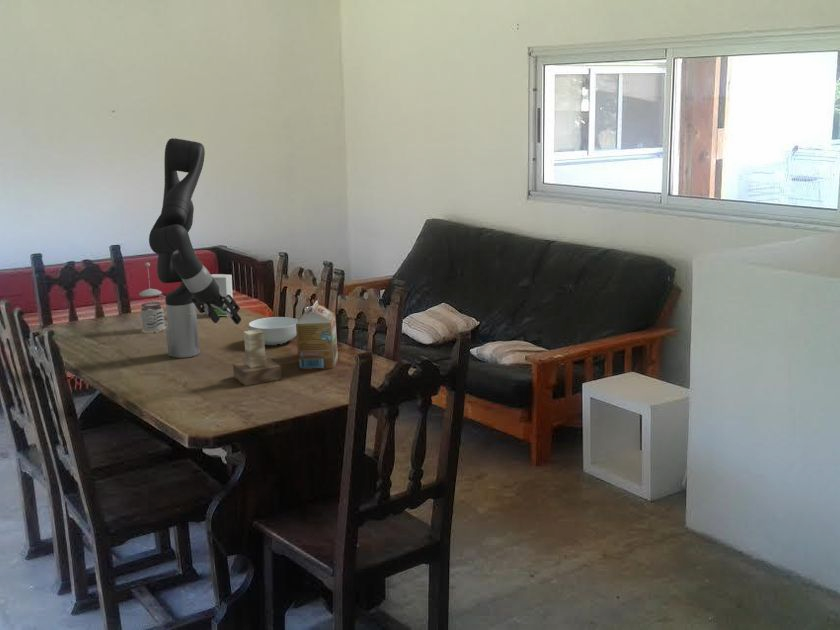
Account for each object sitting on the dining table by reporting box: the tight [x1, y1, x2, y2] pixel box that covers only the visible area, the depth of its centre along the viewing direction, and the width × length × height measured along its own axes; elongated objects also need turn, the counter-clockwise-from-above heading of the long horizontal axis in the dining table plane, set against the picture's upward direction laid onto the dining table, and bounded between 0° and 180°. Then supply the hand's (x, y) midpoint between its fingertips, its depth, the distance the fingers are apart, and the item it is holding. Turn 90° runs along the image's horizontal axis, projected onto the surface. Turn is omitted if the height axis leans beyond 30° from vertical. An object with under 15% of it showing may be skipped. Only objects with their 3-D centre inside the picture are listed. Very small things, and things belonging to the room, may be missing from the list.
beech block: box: [243, 329, 267, 368], centre depth 274 cm, size 5×5×10 cm
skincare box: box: [210, 273, 234, 316], centre depth 361 cm, size 8×7×16 cm
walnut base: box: [232, 357, 282, 387], centre depth 275 cm, size 11×11×4 cm
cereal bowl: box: [248, 316, 299, 346], centre depth 316 cm, size 17×17×7 cm
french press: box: [138, 261, 167, 331], centre depth 340 cm, size 10×12×25 cm
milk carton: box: [296, 299, 339, 370], centre depth 286 cm, size 10×11×19 cm
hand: (227, 321), depth 275 cm, fingers open, 8 cm apart
